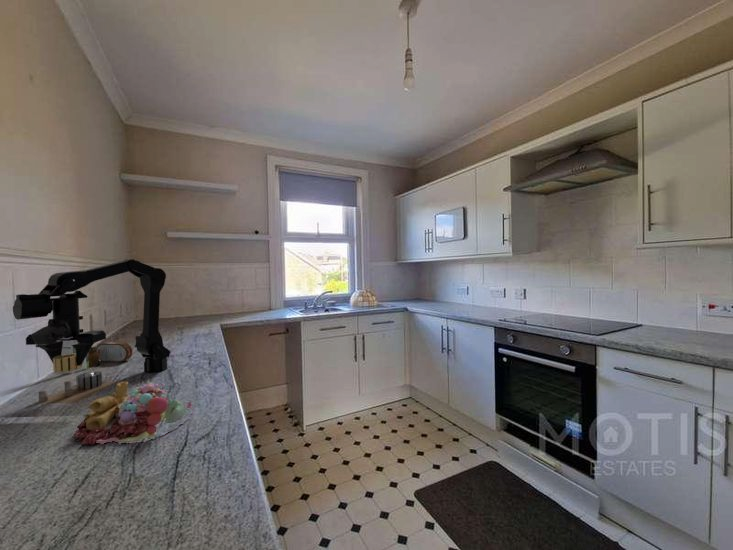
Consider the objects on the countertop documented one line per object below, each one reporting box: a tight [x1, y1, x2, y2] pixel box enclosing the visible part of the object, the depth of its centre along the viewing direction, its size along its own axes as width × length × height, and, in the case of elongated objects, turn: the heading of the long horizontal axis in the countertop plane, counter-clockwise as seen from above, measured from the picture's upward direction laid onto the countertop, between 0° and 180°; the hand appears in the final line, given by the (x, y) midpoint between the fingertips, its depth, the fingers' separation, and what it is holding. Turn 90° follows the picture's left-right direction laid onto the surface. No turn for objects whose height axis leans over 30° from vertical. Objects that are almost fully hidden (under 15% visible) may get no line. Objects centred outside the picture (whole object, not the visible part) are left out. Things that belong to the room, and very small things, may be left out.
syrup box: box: [60, 340, 90, 376], centre depth 117 cm, size 6×6×14 cm
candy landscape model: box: [72, 381, 192, 446], centre depth 81 cm, size 25×24×9 cm
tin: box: [96, 340, 133, 363], centre depth 133 cm, size 15×3×8 cm, turn 85°
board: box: [33, 380, 118, 405], centre depth 98 cm, size 12×16×6 cm
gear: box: [75, 370, 103, 390], centre depth 101 cm, size 6×6×4 cm
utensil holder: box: [88, 342, 100, 368], centre depth 127 cm, size 6×6×12 cm
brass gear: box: [52, 353, 82, 374], centre depth 94 cm, size 6×6×4 cm
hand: (68, 365), depth 94 cm, fingers closed on brass gear, 6 cm apart
